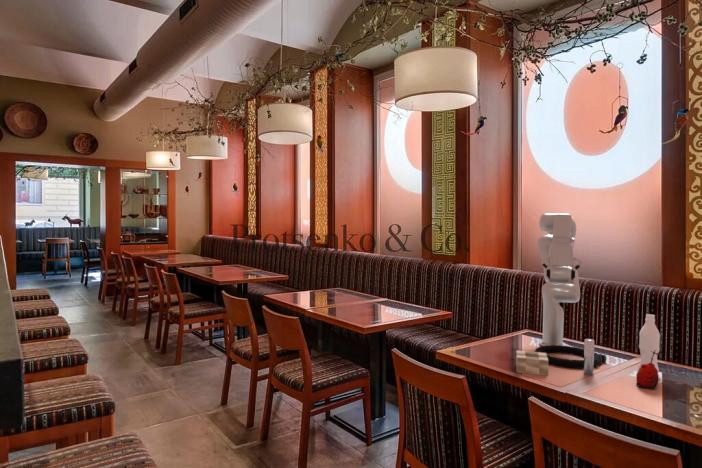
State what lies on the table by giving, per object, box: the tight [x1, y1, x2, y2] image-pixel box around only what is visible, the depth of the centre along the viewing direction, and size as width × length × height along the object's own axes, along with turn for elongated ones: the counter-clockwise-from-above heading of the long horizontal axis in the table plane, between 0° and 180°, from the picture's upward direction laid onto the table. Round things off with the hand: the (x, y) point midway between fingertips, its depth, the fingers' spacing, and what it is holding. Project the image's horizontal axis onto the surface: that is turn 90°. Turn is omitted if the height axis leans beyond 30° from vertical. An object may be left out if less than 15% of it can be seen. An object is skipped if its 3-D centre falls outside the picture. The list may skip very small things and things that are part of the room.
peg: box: [583, 338, 595, 376], centre depth 196 cm, size 4×4×14 cm
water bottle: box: [637, 313, 661, 374], centre depth 195 cm, size 7×7×25 cm
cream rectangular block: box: [515, 349, 549, 376], centre depth 201 cm, size 12×12×6 cm
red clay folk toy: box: [635, 350, 659, 390], centre depth 182 cm, size 8×7×15 cm
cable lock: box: [533, 345, 607, 369], centre depth 216 cm, size 28×4×30 cm
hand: (560, 279), depth 216 cm, fingers open, 9 cm apart
